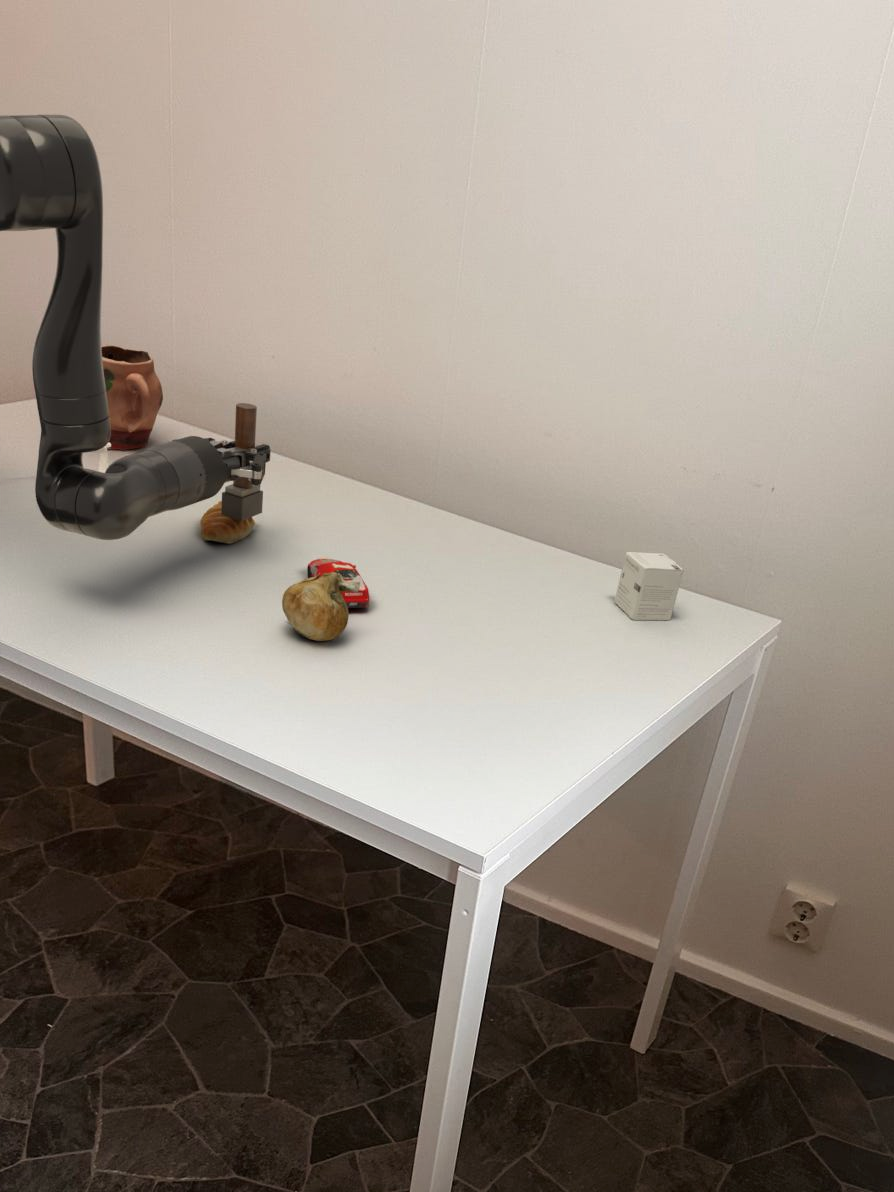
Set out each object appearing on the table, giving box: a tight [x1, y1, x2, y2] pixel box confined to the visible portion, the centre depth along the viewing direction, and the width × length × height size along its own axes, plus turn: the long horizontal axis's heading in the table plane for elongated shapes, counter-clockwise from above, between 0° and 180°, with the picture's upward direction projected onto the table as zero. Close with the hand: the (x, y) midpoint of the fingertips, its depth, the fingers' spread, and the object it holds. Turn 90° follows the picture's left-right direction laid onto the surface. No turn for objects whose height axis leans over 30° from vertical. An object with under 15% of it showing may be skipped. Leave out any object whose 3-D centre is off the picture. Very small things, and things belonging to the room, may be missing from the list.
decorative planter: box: [101, 344, 164, 450], centre depth 184 cm, size 20×12×14 cm, turn 42°
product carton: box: [614, 551, 684, 621], centre depth 159 cm, size 6×6×7 cm
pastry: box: [199, 500, 256, 545], centre depth 160 cm, size 9×7×4 cm
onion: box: [281, 572, 360, 642], centre depth 135 cm, size 8×8×8 cm
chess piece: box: [96, 442, 111, 473], centre depth 169 cm, size 5×5×10 cm
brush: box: [221, 402, 264, 521], centre depth 154 cm, size 5×3×14 cm, turn 156°
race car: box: [306, 558, 370, 609], centre depth 149 cm, size 13×5×4 cm, turn 22°
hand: (256, 449), depth 156 cm, fingers closed on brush, 2 cm apart
